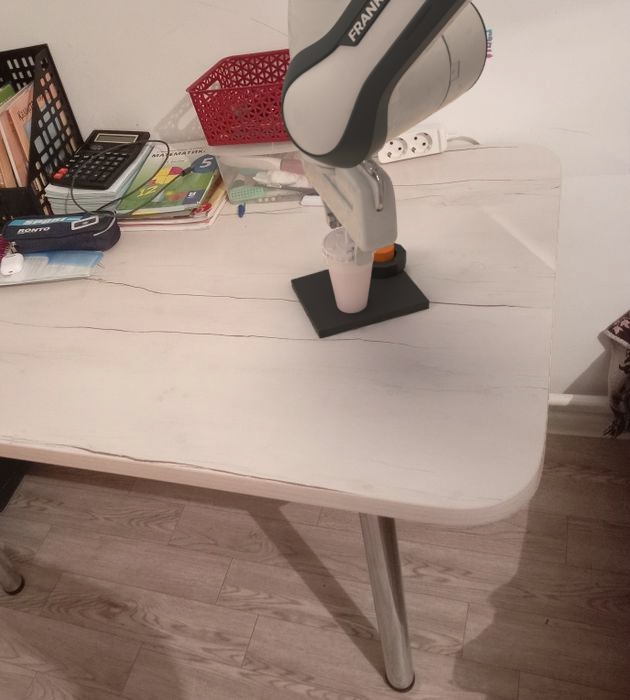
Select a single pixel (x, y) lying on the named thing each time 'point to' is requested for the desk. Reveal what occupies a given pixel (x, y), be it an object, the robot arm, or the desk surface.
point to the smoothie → (346, 272)
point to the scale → (383, 300)
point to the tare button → (384, 254)
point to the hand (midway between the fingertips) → (348, 242)
